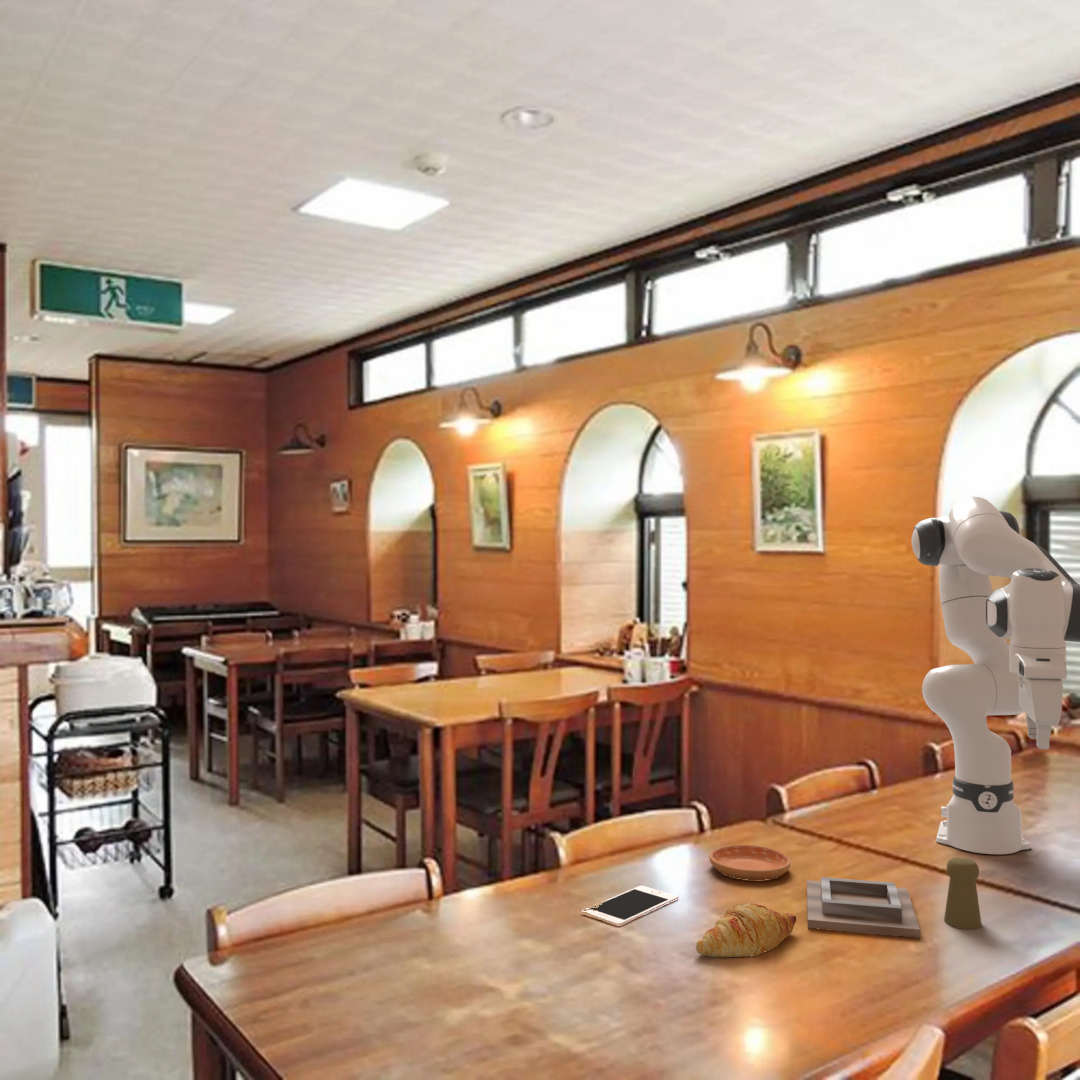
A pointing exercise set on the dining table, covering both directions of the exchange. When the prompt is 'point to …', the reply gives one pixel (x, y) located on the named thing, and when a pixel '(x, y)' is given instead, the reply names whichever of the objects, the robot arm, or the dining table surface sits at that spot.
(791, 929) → the croissant
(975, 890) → the olive pepper mill
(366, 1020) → the dining table surface
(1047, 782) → the dining table surface
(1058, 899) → the dining table surface
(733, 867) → the saucer
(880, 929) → the square frame holder
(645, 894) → the cell phone
